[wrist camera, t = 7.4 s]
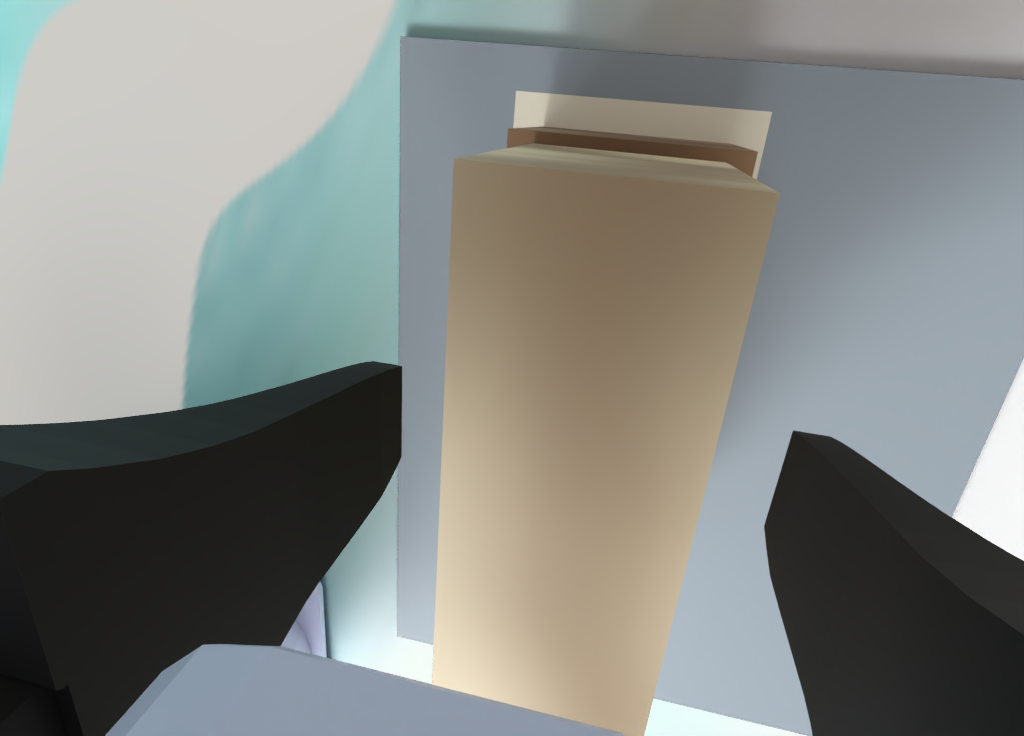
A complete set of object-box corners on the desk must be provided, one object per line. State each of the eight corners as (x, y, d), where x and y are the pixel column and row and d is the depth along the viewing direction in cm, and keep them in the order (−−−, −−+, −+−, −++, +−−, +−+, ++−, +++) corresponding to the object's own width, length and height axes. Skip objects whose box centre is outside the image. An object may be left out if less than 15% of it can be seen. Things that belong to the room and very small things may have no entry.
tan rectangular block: (495, 562, 15) (429, 749, 11) (533, 143, 11) (453, 158, 7) (634, 592, 15) (626, 803, 10) (726, 162, 11) (780, 193, 6)
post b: (526, 300, 17) (492, 350, 13) (542, 126, 15) (507, 128, 11) (693, 324, 16) (704, 384, 12) (730, 143, 14) (758, 152, 11)
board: (400, 629, 23) (396, 635, 23) (405, 37, 15) (400, 36, 15) (845, 736, 20) (847, 745, 20) (1135, 88, 12) (1145, 88, 12)
